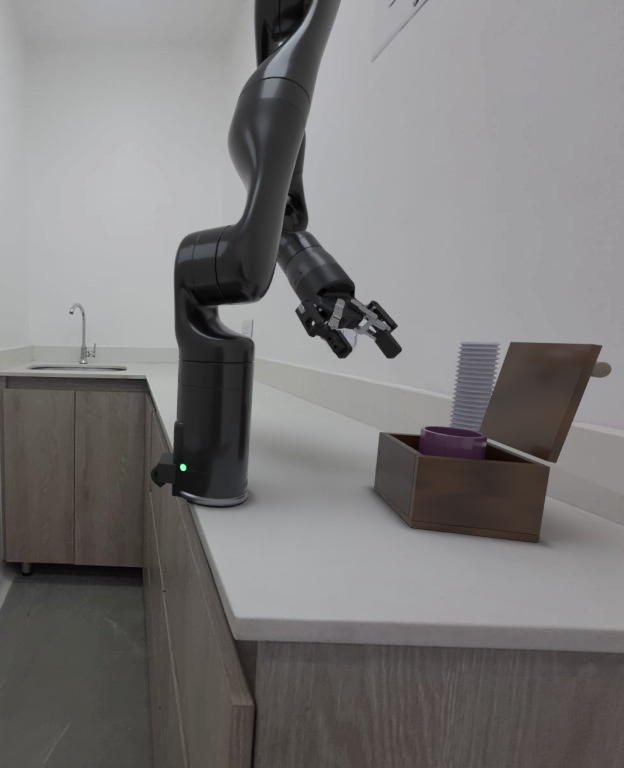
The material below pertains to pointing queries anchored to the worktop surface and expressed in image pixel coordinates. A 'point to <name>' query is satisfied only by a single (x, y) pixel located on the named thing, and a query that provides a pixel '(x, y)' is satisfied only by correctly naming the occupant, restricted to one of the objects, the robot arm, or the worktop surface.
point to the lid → (540, 395)
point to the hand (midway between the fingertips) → (371, 354)
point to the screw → (474, 383)
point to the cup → (452, 442)
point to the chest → (462, 489)
